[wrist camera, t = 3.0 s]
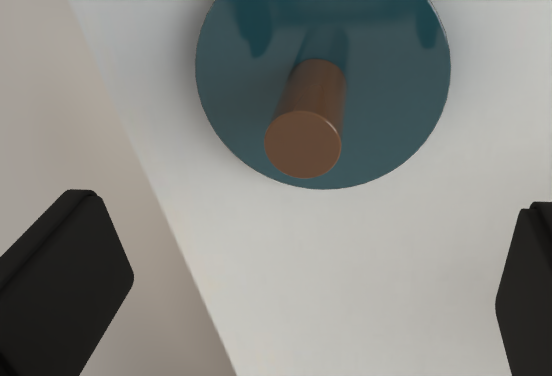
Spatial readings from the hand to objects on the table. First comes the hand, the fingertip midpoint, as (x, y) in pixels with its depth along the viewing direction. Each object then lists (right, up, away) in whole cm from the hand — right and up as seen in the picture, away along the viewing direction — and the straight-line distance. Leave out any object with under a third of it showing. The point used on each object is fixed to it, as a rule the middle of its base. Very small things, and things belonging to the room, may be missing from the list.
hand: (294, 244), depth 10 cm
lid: (+1, +6, +7) cm, 9 cm away
